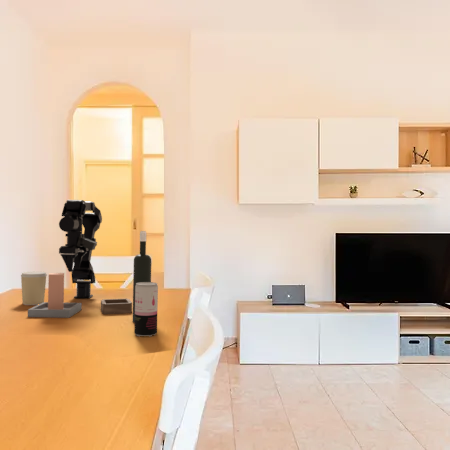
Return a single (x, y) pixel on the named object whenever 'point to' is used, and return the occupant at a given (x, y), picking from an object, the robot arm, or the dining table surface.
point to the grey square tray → (54, 310)
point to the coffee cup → (33, 287)
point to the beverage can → (146, 308)
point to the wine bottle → (141, 267)
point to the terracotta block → (56, 291)
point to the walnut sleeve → (116, 306)
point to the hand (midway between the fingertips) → (74, 270)
